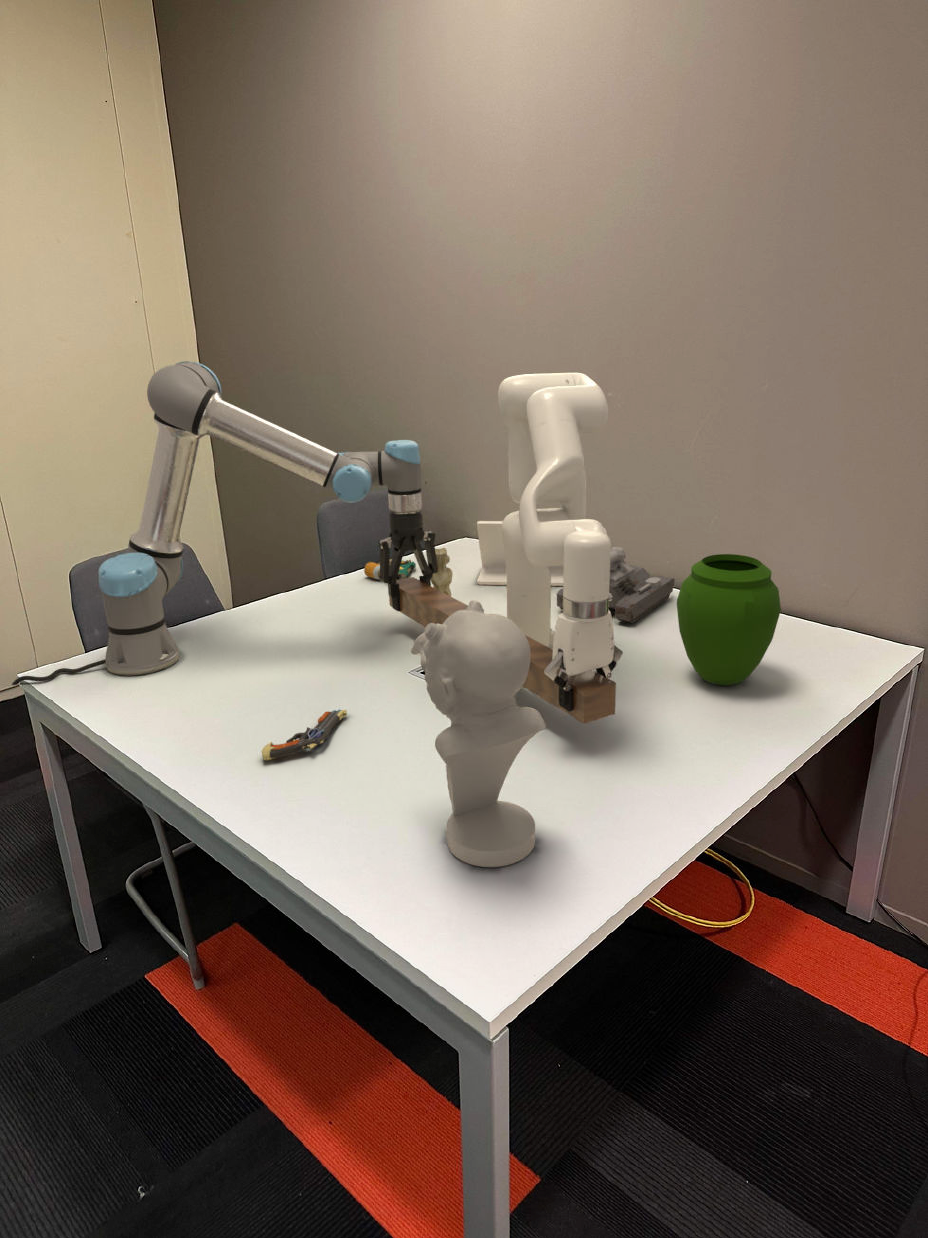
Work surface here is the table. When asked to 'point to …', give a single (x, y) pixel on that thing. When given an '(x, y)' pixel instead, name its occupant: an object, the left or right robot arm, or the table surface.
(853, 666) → the table surface
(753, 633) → the vase
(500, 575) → the tablet stand
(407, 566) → the spray gun
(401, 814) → the table surface
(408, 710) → the table surface
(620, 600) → the toy
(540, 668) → the beam
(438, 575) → the sculpture
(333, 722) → the toy gun
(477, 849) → the bust sculpture
